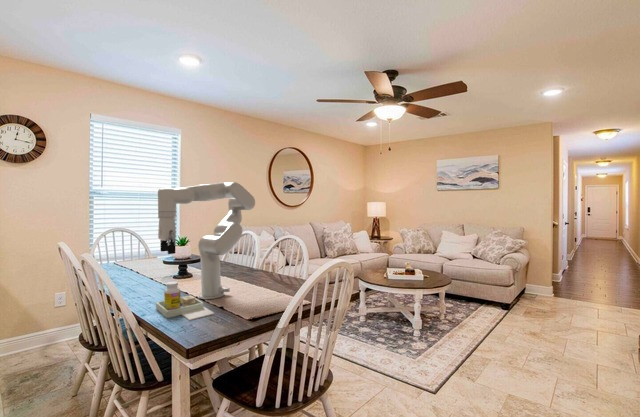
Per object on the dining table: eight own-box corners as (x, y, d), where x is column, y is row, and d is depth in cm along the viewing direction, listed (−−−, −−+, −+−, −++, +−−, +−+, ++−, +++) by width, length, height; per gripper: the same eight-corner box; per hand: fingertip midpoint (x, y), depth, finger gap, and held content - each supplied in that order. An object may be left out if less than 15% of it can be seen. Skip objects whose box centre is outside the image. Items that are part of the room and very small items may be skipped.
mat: (204, 307, 156) (204, 306, 156) (214, 314, 148) (214, 313, 148) (180, 313, 149) (180, 312, 149) (189, 320, 141) (189, 319, 141)
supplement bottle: (170, 314, 149) (169, 285, 148) (161, 311, 152) (160, 283, 152) (184, 309, 154) (183, 282, 154) (175, 307, 158) (174, 280, 157)
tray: (190, 301, 166) (190, 295, 166) (203, 309, 154) (203, 302, 154) (156, 308, 156) (155, 302, 156) (167, 318, 144) (166, 311, 144)
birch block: (191, 305, 161) (191, 295, 161) (195, 307, 158) (195, 297, 158) (182, 307, 158) (182, 297, 158) (185, 309, 155) (185, 299, 155)
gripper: (152, 214, 158) (153, 251, 158) (164, 216, 145) (165, 255, 145) (169, 214, 163) (169, 249, 163) (182, 215, 150) (183, 253, 150)
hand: (167, 252), depth 154 cm, fingers open, 9 cm apart
